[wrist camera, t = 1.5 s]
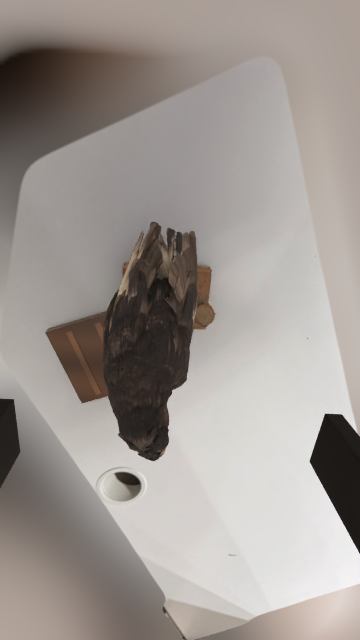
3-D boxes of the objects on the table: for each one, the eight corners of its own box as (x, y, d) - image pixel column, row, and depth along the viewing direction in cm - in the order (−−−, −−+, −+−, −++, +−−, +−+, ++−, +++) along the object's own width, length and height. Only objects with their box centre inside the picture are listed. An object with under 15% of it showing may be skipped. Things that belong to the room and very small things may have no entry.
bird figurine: (215, 214, 38) (297, 251, 15) (203, 323, 43) (250, 477, 20) (124, 208, 37) (59, 237, 14) (124, 320, 42) (77, 476, 19)
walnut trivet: (47, 329, 42) (44, 332, 41) (117, 308, 42) (116, 311, 40) (83, 399, 47) (81, 404, 46) (147, 381, 46) (146, 385, 45)
